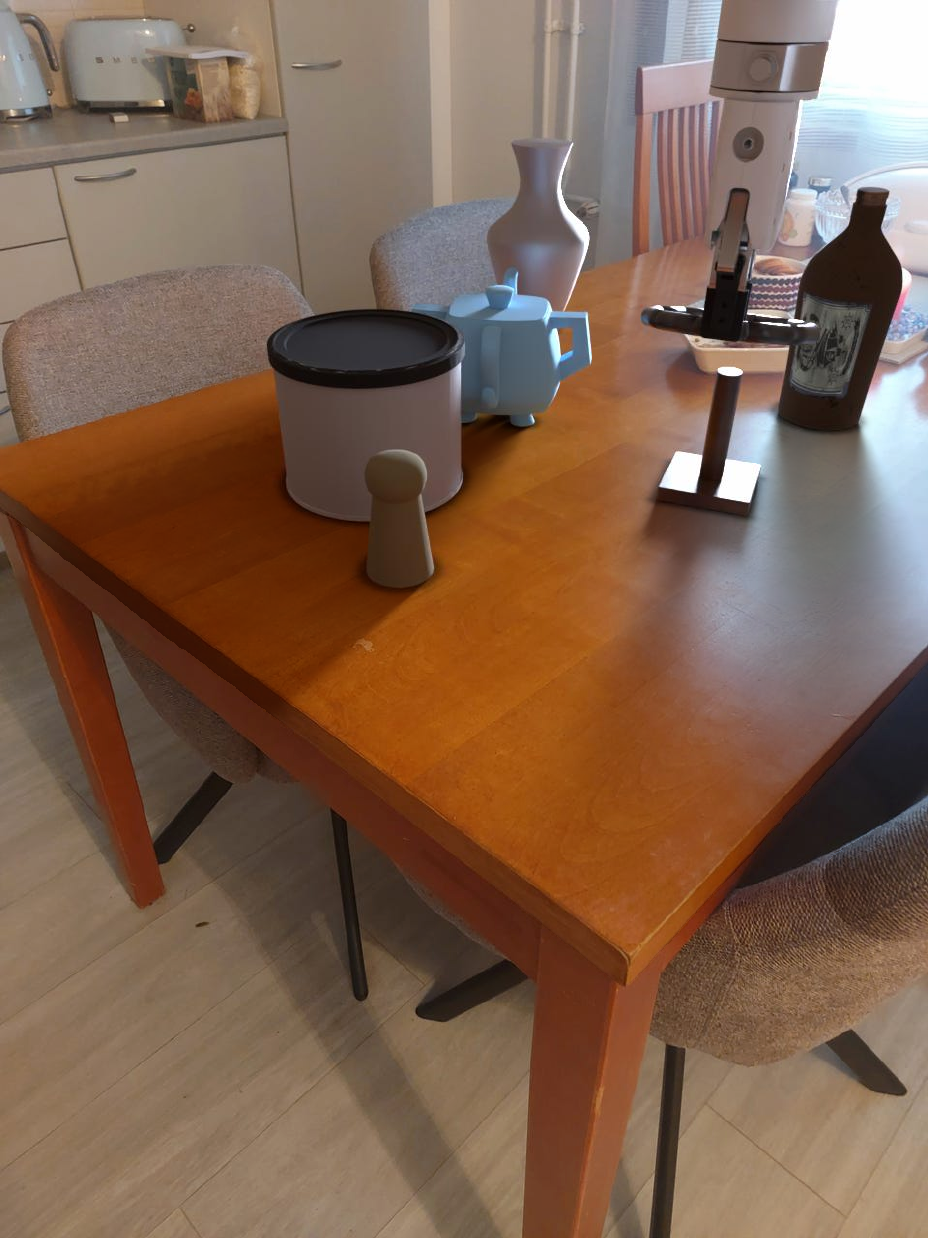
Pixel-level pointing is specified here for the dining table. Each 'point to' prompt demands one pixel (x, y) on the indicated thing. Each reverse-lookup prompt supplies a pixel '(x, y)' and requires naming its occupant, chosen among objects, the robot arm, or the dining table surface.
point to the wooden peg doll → (397, 520)
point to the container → (367, 403)
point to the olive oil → (843, 320)
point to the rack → (713, 460)
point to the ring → (752, 330)
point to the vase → (540, 227)
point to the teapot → (512, 350)
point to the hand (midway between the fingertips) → (721, 332)
